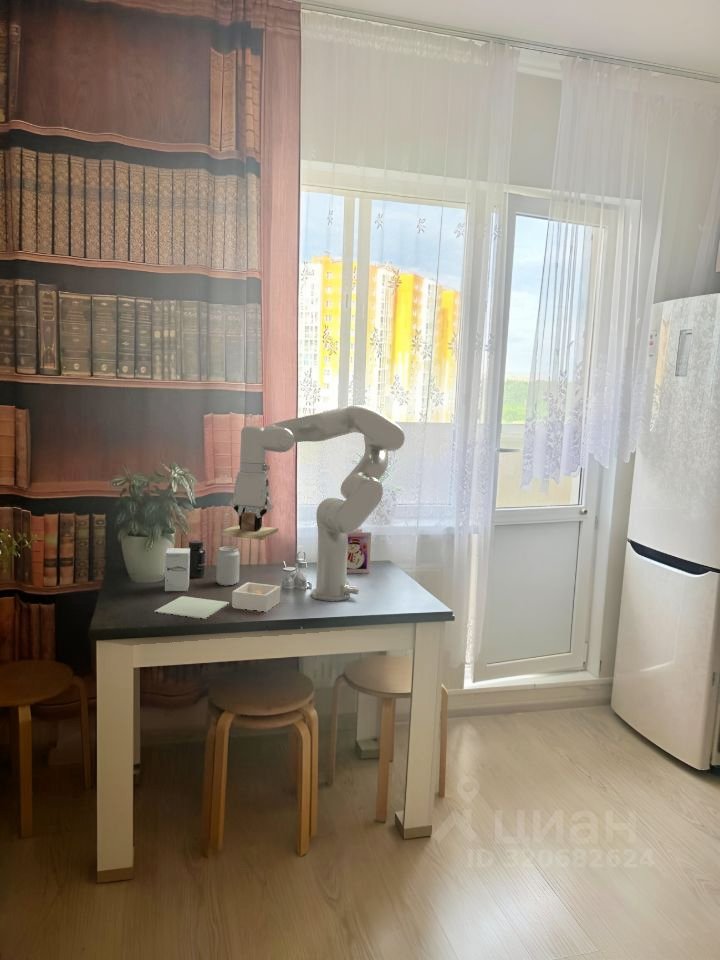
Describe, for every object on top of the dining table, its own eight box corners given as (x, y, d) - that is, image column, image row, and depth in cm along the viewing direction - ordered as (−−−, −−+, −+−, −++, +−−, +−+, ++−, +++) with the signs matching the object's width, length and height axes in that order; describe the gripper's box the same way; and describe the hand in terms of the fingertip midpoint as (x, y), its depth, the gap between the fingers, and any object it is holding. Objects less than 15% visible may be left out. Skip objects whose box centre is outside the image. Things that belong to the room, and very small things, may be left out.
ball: (264, 601, 223) (264, 589, 223) (259, 604, 220) (260, 592, 219) (253, 599, 224) (253, 588, 224) (248, 603, 221) (248, 591, 220)
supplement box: (164, 591, 231) (164, 552, 230) (166, 585, 239) (166, 547, 237) (188, 591, 233) (188, 553, 231) (189, 585, 240) (190, 547, 238)
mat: (229, 603, 222) (229, 602, 222) (204, 619, 207) (204, 617, 207) (181, 597, 226) (181, 596, 226) (154, 612, 211) (154, 610, 211)
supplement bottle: (204, 578, 248) (204, 544, 247) (183, 578, 248) (184, 543, 246) (206, 573, 255) (207, 539, 254) (186, 573, 254) (187, 539, 253)
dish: (280, 601, 226) (280, 586, 225) (266, 612, 216) (266, 595, 215) (247, 597, 229) (247, 582, 228) (232, 607, 218) (232, 591, 218)
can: (236, 587, 240) (237, 551, 239) (214, 585, 240) (214, 550, 239) (240, 580, 248) (241, 546, 246) (218, 579, 248) (219, 545, 246)
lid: (278, 532, 223) (279, 512, 222) (261, 540, 211) (262, 518, 210) (238, 527, 226) (239, 508, 226) (220, 535, 214) (221, 514, 213)
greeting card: (338, 573, 262) (340, 532, 260) (335, 568, 270) (337, 528, 268) (369, 573, 265) (371, 533, 263) (365, 568, 272) (367, 528, 270)
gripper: (283, 469, 218) (280, 530, 220) (231, 464, 222) (229, 524, 224) (274, 472, 210) (271, 534, 213) (221, 467, 215) (218, 528, 217)
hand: (250, 528), depth 218 cm, fingers closed on lid, 4 cm apart
